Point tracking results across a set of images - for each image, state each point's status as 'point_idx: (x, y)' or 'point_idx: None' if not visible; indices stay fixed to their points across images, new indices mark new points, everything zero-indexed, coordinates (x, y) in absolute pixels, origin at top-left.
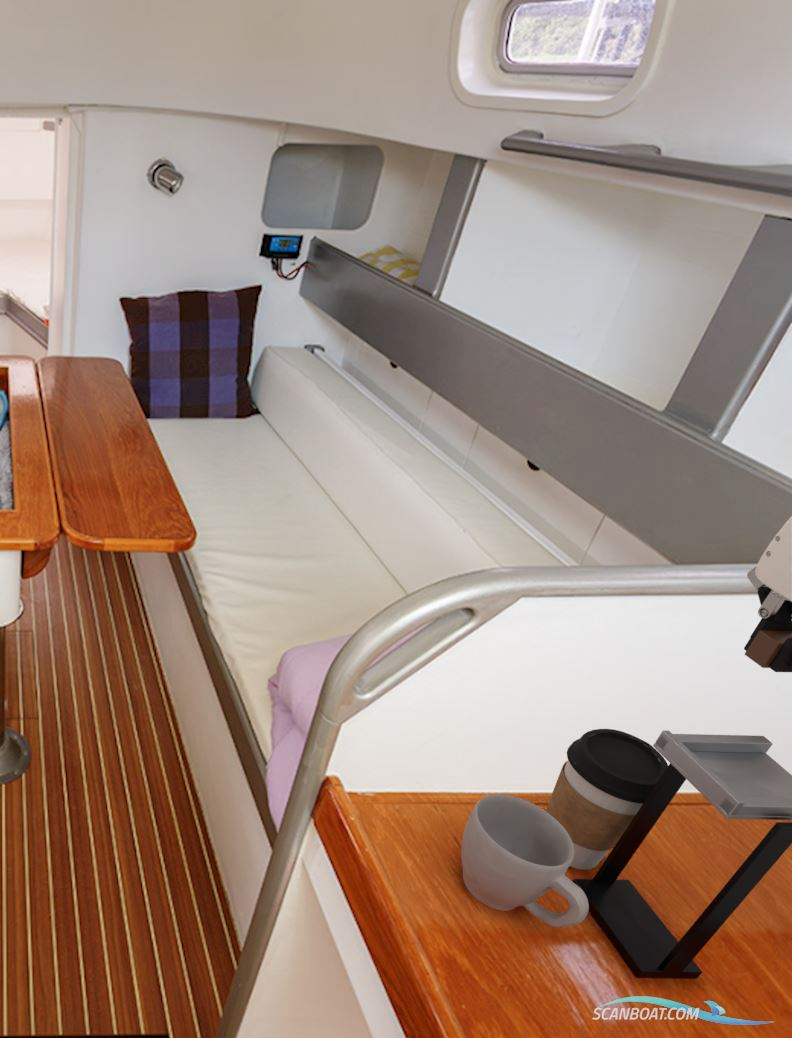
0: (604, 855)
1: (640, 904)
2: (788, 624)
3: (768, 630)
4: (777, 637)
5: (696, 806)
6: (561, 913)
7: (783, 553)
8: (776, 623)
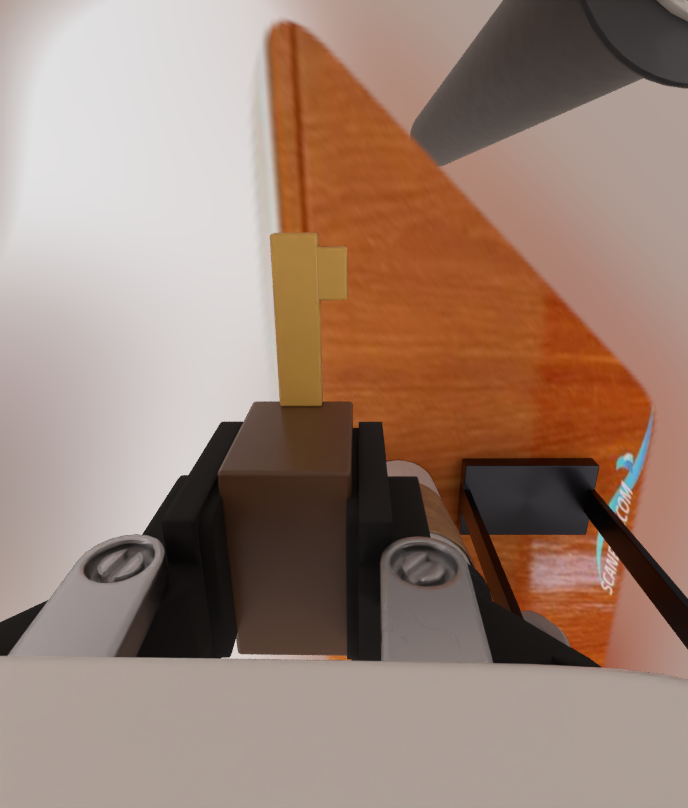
0: (439, 495)
1: (503, 476)
2: (206, 561)
3: (234, 617)
4: (301, 629)
5: (310, 217)
6: (536, 626)
7: None
8: (210, 624)
